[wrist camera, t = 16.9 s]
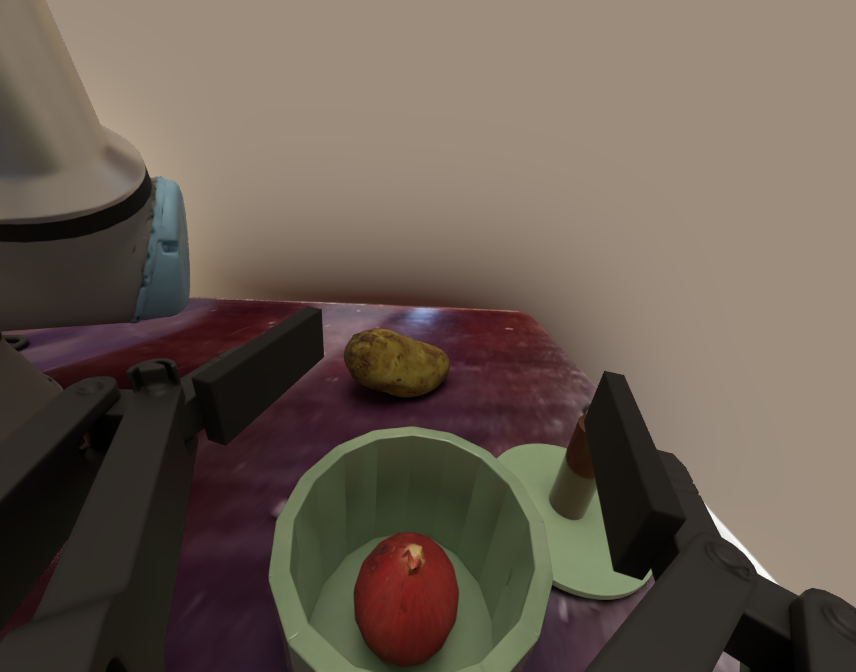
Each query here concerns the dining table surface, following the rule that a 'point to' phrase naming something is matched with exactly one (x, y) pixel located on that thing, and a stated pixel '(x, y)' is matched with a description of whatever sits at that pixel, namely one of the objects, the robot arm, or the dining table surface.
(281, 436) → the dining table surface
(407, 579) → the onion
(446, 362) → the potato
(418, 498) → the pot
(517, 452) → the lid
